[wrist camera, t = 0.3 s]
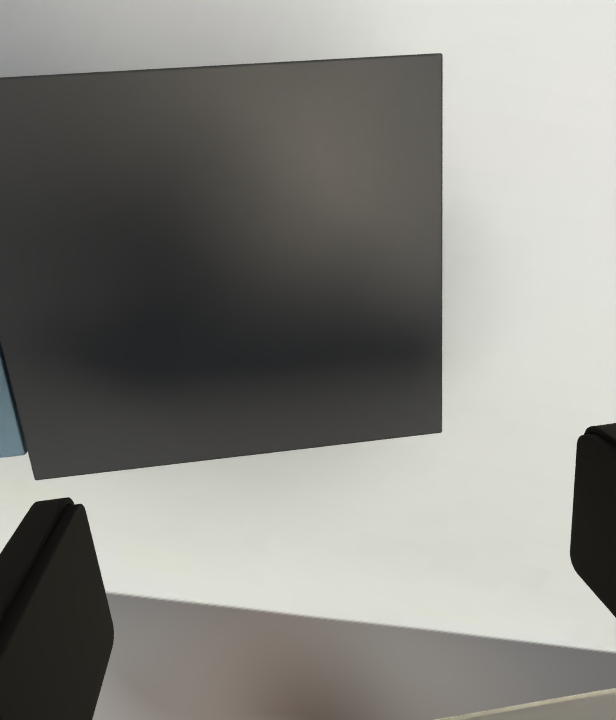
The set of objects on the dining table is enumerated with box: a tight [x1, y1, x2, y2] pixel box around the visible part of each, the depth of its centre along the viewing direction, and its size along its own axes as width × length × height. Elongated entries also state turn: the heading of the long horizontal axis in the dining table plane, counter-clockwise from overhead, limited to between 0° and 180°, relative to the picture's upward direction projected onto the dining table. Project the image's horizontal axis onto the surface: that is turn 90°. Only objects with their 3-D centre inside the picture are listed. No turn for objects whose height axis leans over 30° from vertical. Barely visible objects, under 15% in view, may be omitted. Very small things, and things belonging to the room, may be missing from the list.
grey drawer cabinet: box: [0, 53, 442, 480], centre depth 22 cm, size 15×13×9 cm
